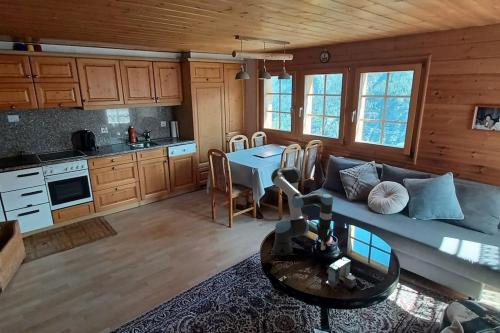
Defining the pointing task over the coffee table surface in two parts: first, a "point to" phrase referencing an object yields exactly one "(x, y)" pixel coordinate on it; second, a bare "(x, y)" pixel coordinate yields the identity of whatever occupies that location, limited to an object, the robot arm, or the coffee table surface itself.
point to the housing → (338, 271)
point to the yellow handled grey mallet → (347, 280)
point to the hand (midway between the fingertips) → (322, 249)
